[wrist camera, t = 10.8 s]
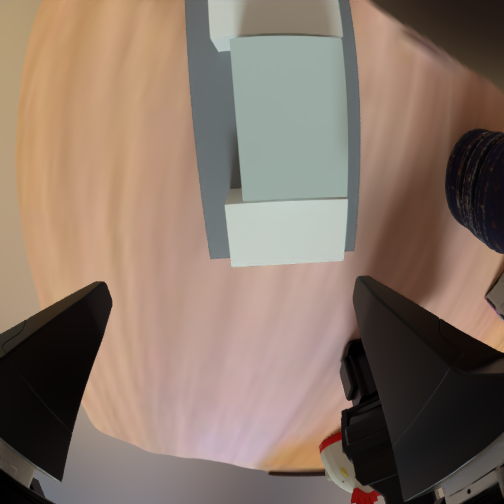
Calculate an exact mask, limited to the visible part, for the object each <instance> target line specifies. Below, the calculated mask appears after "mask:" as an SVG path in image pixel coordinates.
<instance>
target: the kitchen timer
mask: <svg viewBox="0 0 504 504" xmlns="http://www.w3.org/2000/svg"><path fill="white" fill-rule="evenodd" d="M319 448H320V456H321V460H322V463H323V465H324V467H325V469H326V470H325V474H326V477H327V479H328V480H329V481H332V480H333V481H334V482H335V483H336V484H337V485H338V486H339V487H341V488H342V489H344V490H346V491H348V492H351V493H352V498H351V503H356V504H374V502H376V501H378V499H377V496H380V494H379V493H377V492H376V491H375V490H373V489H372V488H371V487H369V486H362V485H361V484H360V483H359V482H358V481H357V480H356V476H355V471H354V466H353V464H352V463H351V462H350V461H349V459H348V458H347V456H346V454H344V453H343V452H342V432H339V433H337V434H335V435H333V436H331V437H329V438H327V439H326V440H325V441H323V442H322V443H321V445H320V446H319Z"/></svg>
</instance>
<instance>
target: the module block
mask: <svg viewBox="0 0 504 504" xmlns="http://www.w3.org/2000/svg"><path fill="white" fill-rule="evenodd" d="M229 40H230V52H231V65H232V77H233V89H234V101H235V114H236V126H237V137H238V149H239V161H240V173H241V184H242V196H243V201H256V200H273V199H293V198H319V197H347V188H348V116H347V94H346V79H345V66H344V55H343V46H342V39H340V38H329V37H314V36H256V37H242V38H231V39H229Z"/></svg>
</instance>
